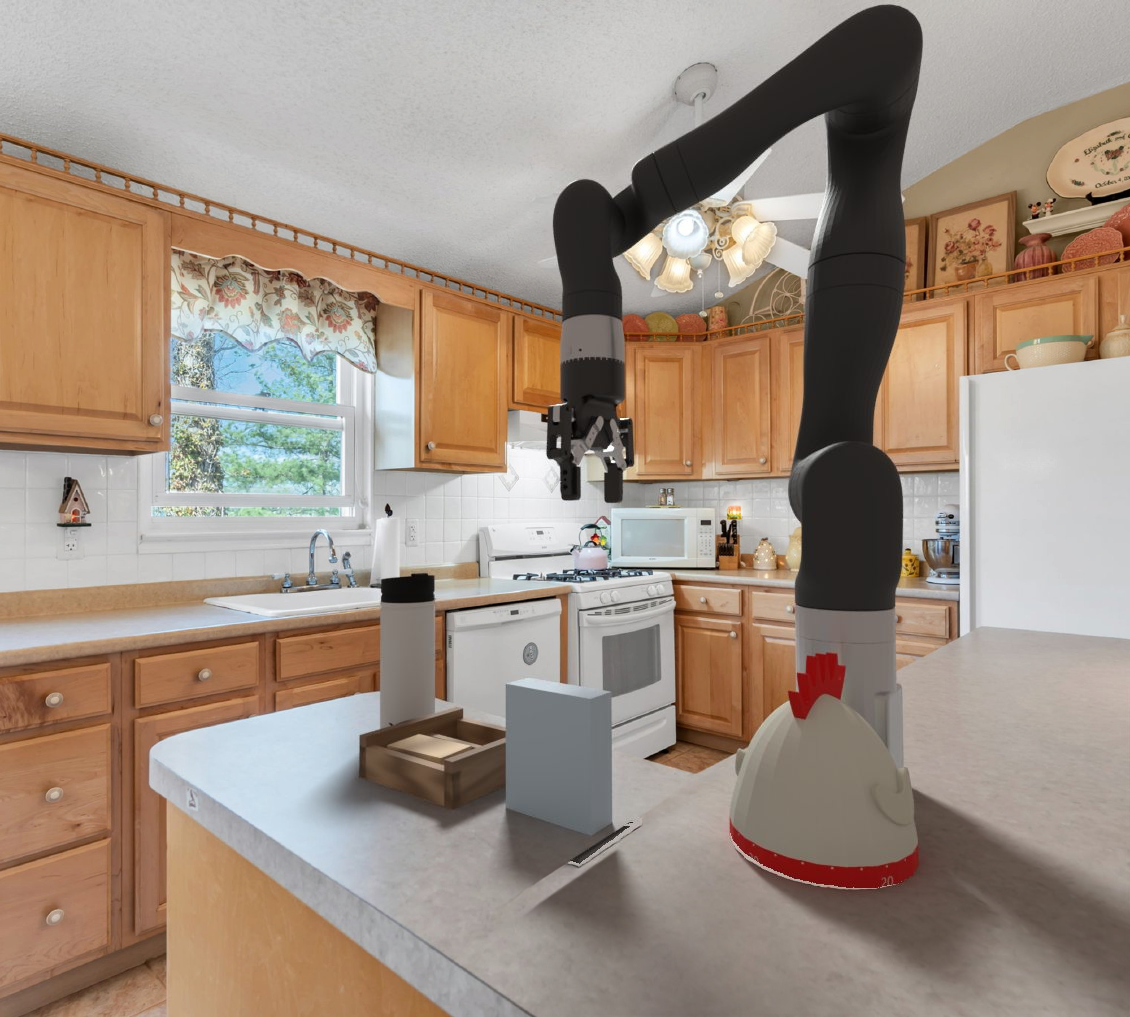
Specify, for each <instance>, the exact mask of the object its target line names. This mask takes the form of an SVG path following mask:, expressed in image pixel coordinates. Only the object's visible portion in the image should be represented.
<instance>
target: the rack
mask: <svg viewBox="0 0 1130 1017" xmlns="http://www.w3.org/2000/svg"><path fill="white" fill-rule="evenodd" d="M418 734H421V735H425V736H429V737H434V738H438V739H443V740H447V741H452V742H456V743H461V744H465V745H470V746H471V750H470V751H467V752H464V753H461V754H459V755H456V756H453V757H450V758H448V759H445V760H444V765H441V764H437V763H434V762H431V761H427V760H424V759H421V758H417V757H414V756H410V755H407V754H404V753H400V752H397V751H394V750H390V749H387V745H389V744H392V743H395V742H398V741H401V740H404V739H406V738H409V737H412V736H415V735H418ZM358 738H359V739H358V740H359V743H358V744H359V747H358V748H359V753H358V755H359V760H358V761H359V762H358V763H359V764H358V765H359V767H358V768H359V769H358V770H359V773H358V777H359V778H361V779H364V780H367V781H369V782H372V783H375V784H378V785H380V786H381V785H382V786H384V787H387V788H390V789H392V790H395V791H398V792H401V793H403V794H406V795H410V796H413V797H415V798H418V799H421V800H424V801H426V802H429V803H432V804H435V805H437V806H440V807H443V808H446V809H449V810H455V809H457V808H459V807H462V806H463V805H466V804H468V803H470V802H472V801H475V800H477V799H480V798H482V797H484V796H486V795H488V794H490V793H493V792H495V791H497V790H500V789H502V788H504V787H506V726H501V725H497V724H493V723H490V722H489V723H488V722H486V721H485V722H484V721H481V720H475V719H471V718H468V717H464V708H462V707H458V706H457V707H453V708H449V709H446V710H445V709H444V710H442V711H439V712H435V714H431V715H428V716H424V717H421V718H417V719H414V720H410V721H407V722H403V723H400V724H396V725H393V726H389V727H386V728H382V729H380V728H379V729H376V730H372V731H368V732H365V733H361V734H359V737H358Z"/></svg>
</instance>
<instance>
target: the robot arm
mask: <svg viewBox="0 0 1130 1017" xmlns="http://www.w3.org/2000/svg"><path fill="white" fill-rule="evenodd" d="M923 37H924V35H923V29H922V25H921V22H919V19H918V18H917V17H916V15H914V13H913V12H912V11H911V10H909V9H908V8H905V7H903V6H902V5H895V4H879V5H878V4H877V5H875V6H874V5H873V6H870V7H867V8H865V9H862V10H861V11H859V12H857V13H854V14H853V15H851V16H849V17H848V18H846V19H845V20H843V21H842V22H840V23H839V24H838V25H836V26H835V27H834V28H832V29H831V30H829V31H828V32H826V34H824V35H823V36H821V37H820V38H819V39H818V40H816V41H815V42H813V44H811V45H810V46H808V48H806V49H805V50H804V51H802V52H801V53H800V54H799V55H797V56H795V58H793V59H792V60H790V61H789V62H788V63H786V64H785V65H784V66H782V67H781V68H780V69H779V70H777V71H776V72H774V73H773V74H772V75H770V76H769V77H768V78H767V79H765V80H763V82H761V83H760V84H758V85H757V86H756V87H755V88H753V89H752V90H751V91H748V93H746V94H745V95H744V96H742V97H741V98H740V99H738V100H737V101H735V102H734V103H733V104H732V105H730V106H728V107H727V108H726V109H724V110H723V111H721V112H720V113H717V114H716V115H715V116H713V117H712V118H710V119H708V120H707V121H705V122H704V123H702V124H700V125H698V126H697V127H694V128H693V129H691V130H690V131H688V132H686V133H685V134H682V135H681V136H679V137H677V138H675V139H674V140H672V141H670V142H668V143H666V144H665V145H663V146H661V147H660V148H658V149H655V150H653V152H650V153H648V154H646V155H645V156H643V157H642V158H641V159H639V160H637V161H636V162H635V163H634V165H633V166H632V168H631V172H630V178H631V179H630V181H631V182H630V183H629V184H628V185H627V186H626V187H624V188H623V189H622V190H621V191H619V192H618V193H617V194H615V195H614V196H612V195H611V193H610V192H609V190H607V188H606V187H604V186H603V185H602V184H601V183H599V182H598V181H595V180H594V179H590V178H579V179H576V180H574V181H572V182H570V183H569V184H567V185H566V186H565V187H564V188H563V189H562V191H561V192H560V193H559V195H558V197H557V199H556V202H555V204H554V207H553V208H554V209H553V213H552V214H553V215H552V233H553V241H554V242H553V243H554V248H555V252H556V259H557V265H558V270H559V275H560V279H561V285H562V293H561V294H562V295H561V296H562V298H561V312H562V313H561V314H562V315H561V316H562V318H561V319H562V320H561V321H562V322H561V323H562V324H561V336H560V341H559V342H560V344H559V346H560V348H559V355H560V356H559V358H560V359H559V370H560V372H559V375H560V376H559V378H560V383H559V385H560V387H559V388H560V389H559V390H560V391H559V392H560V393H559V395H560V401H561V402H562V403H560V404H553V405H548V408H547V424H546V425H547V426H546V453H545V454H546V455H545V456H546V457H547V459H548V460H553V461H555V462H556V464H557V466H558V467H559V481H560V482H559V492H560V496H561V499H562V501H570V502H571V501H573V502H575V501H579V500H581V498H582V486H581V485H582V484H581V483H582V482H581V481H582V475H581V474H582V469H581V466H579V465H580V464H581V461H582V460H583V457H584V455H585V454H586V452H588V451H593V452H594V455H595V457H596V458H599V459H600V461H601V463H602V466H603V467H604V471H605V472H603V489H604V490H603V494H604V495H603V496H604V497H603V498H604V502H605V503H606V504H617V503H618V504H620V503H622V501H623V500H624V498H623V497H624V496H623V495H624V471H626V470H627V468H629V467H630V468H632V467H634V465H635V444H634V421H633V419H632V418H631V417H628V418H625V417H624V418H619V417H618V413H617V407H618V406H619V405H620V404H622V403H624V401H625V399H626V353H625V352H626V351H625V350H626V348H625V347H626V345H625V343H626V342H625V335H624V334H625V333H624V328H623V326H624V325H623V290H622V282H621V279H620V277H619V275H618V272H617V270H616V267H615V265H614V261H613V260H614V258H617V257H618V256H620V255H622V254H624V253H626V252H627V251H628V250H630V249H631V248H633V247H635V245H637V243H639V242H640V241H642V240H643V239H644V238H645V237H647V236H648V235H649V234H650V233H652V232H653V231H654V230H655V229H656V228H657V227H658V226H660V224H662V223H663V222H664V221H665V220H667V219H670V218H671V217H674V216H676V215H678V214H679V213H680V214H681V213H682V212H684V211H685V210H688V209H689V208H692V207H693V206H696V205H697V204H699V203H700V202H703V201H705V200H707V199H709V198H710V197H712V196H713V195H715V194H717V193H719V192H720V191H721V190H724V188H726V187H727V186H728V185H729V184H731V183H733V182H734V180H736V179H738V177H740V175H741V174H743V173H744V171H746V170H747V169H748V168H749V167H750V166H751V165H752V164H754V162H755V161H757V160H758V159H759V158H760V157H761V155H763V154H765V152H767V151H768V150H769V148H771V147H772V146H773V145H775V144H776V143H777V142H779V141H780V140H781V139H782V138H784V137H785V136H787V135H788V134H789V133H791V132H792V131H793V130H796V129H797V128H799V127H800V126H802V125H803V124H806V123H807V122H810V120H811V121H812V120H813V119H815V118H817V117H819V116H821V115H823V119H824V126H825V129H824V131H825V142H826V143H825V144H826V145H825V146H826V177H825V178H826V182H825V183H826V184H825V188H824V189H825V190H824V191H825V192H824V196H823V201H822V203H821V207H820V212H819V215H818V218H817V221H816V226H815V230H814V233H813V238H812V242H811V247H810V253H809V258H808V266H807V275H806V290H805V302H804V326H803V327H804V329H803V356H802V358H803V359H802V360H803V362H802V364H803V366H802V371H803V373H802V374H803V375H802V377H803V381H802V382H803V383H802V384H803V387H802V388H803V390H802V391H803V395H802V408H801V415H800V419H799V420H800V421H799V427H798V431H797V432H798V433H797V439H796V443H795V444H796V445H795V450H794V455H793V461H792V464H791V470H790V474H789V478H788V484H787V485H788V487H787V495H788V501H789V506H790V507H791V511H792V513H793V515H794V516H795V518H796V519H797V520H798V521H799V524H801V526H800V527H801V532H800V533H801V536H800V537H801V539H800V541H801V543H800V544H801V545H800V546H801V547H800V550H801V551H800V554H801V555H800V561H799V562H800V563H799V569H798V571H797V575H796V576H795V579H794V580H795V581H794V628H795V629H794V632H795V639H794V640H795V641H794V642H795V643H794V644H795V692H799V689H798V682H797V672H799V673H805V672H806V657H807V655H809V656H815V653H820V654H826V652H829V653H837V654H838V665H844V666H846V670H845V678H844V684H843V689H842V695H841V701H842V702H844V703H846V704H847V705H848V706H850V707H851V708H852V709H854V710H855V711H856V712H857V713H858V714H859V715H861V716H862V717H863V718H864V719H865V720H866V721H867V722H868V723H869V725H870V726H871V727H872V728H873V729H874V730H875V732H876V733H877V734H878V736H879V737H880V738H881V740H882V741H883V743H884V744H885V746H886V748H887V749H888V751H889V753H890V754H891V756H892V758H893V760H894V762H895V764H896V767H897V768H902V767H905V766H904V764H905V761H904V760H905V758H904V757H905V756H904V715H903V714H904V709H903V708H904V707H903V704H904V703H903V702H904V701H903V698H904V697H903V685H902V684H901V683H899V682H898V681H897V679H898V678H897V676H898V675H897V641H896V638H897V635H896V631H897V630H896V627H897V626H896V591H897V588H898V585H899V582H900V579H901V576H902V571H903V556H904V554H903V550H904V549H903V547H904V546H903V545H904V496H903V495H904V493H903V486H902V480H901V477H900V473H899V471H898V468H897V466H896V464H895V463H894V462H893V460H892V459H891V458H890V456H889V455H888V454H887V453H886V452H885V451H883V450H882V449H880V448H879V447H877V446H875V445H874V427H875V426H874V421H875V410H876V402H877V399H878V394H879V390H880V387H881V384H882V380H883V377H884V374H885V371H886V368H887V365H888V363H889V360H890V356H891V354H892V350H893V348H894V344H895V341H896V338H897V334H898V330H899V326H900V321H901V318H902V317H901V316H902V309H903V302H904V296H905V295H904V293H905V280H906V267H907V266H906V265H907V264H906V263H907V236H906V222H905V214H904V205H903V198H902V187H901V186H902V185H901V182H902V169H903V161H904V160H903V159H904V155H905V149H906V143H907V138H908V134H909V133H908V132H909V127H910V122H911V118H912V113H913V108H914V105H915V101H916V98H917V93H918V87H919V82H920V74H921V65H922V59H923V47H924V40H923V39H924V38H923ZM558 438H560V447H558V446H557V445H558ZM624 448H625V449H624ZM623 450H625V457H624V453H623ZM611 458H612V460H611ZM897 682H898V683H897Z"/></svg>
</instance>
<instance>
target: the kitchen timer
mask: <svg viewBox="0 0 1130 1017" xmlns="http://www.w3.org/2000/svg"><path fill="white" fill-rule="evenodd" d="M845 670H846V666H844V665H838V654H837V653H829V652H826V654H820V653H815V656H809V655H807V657H806V672H805V673H799V672H797V682H798V689H799V692H796V691H794V690H793V691H792V690H787V694H788V695H787V696H788V700H787V701H786V702H784V703H783V704H781V705H780V706H778V707H777V708H776V709H775V710H773V711H772V712H771V713H770V714H769V715H768V716H767V717H766V719H765V720H764V721H763V722H762V724H761V725H760V726H759V728H758V729H757V730H756V732H755V733H754V735H753V736H752V739H751V740H750V742H749V745H748V747H747V749H746V750H744V749H742V748H738V749H737V750H736V755H735V774H736V776H737V778H736V780H735V785H734V788H733V791H732V796H731V801H730V805H729V806H730V807H729V819H728V820H729V821H728V822H729V834H730V833H731V836H732V839H733V841H734V842H735V843H736V844H737V846H739V848H740V849H741V850H742V851H743V852H744V853H745V854H747V855H748V856H750V857H751V858H753V859H754V860H756V861H757V862H759V863H760V864H763V866H766V867H768V868H771V869H773V870H774V871H777V872H780V873H783V874H784V875H787V876H789V877H792V878H794V879H800V880H803V881H809V882H811V883H812V882H813V883H816V884H824V885H834V886H838V887H846V888H853V887H854V888H878V887H879V888H880V887H882V886H887V885H893V884H898V883H900V882H901V881H904V880H905V879H907V878H909V877H911V876H912V877H914V875H915V873H916V871H917V869H918V868H919V867H920V863H919V862H920V861H919V860H920V859H919V856H920V855H919V839H918V831H917V828H916V827H917V826H916V821H915V819H914V817H915V801H914V799H915V798H914V793H913V789H912V788H913V787H912V781H911V776H910V772H909V771H910V770H909V768H908V767H906V766H904V767H902V768H897V767H896V764H895V762H894V760H893V758H892V756H891V754H890V753H889V751H888V749H887V748H886V746H885V744H884V743H883V741H882V740H881V738H880V737H879V736H878V734H877V733H876V732H875V730H874V729H873V728H872V727H871V726H870V725H869V723H868V722H867V721H866V720H865V719H864V718H863V717H862V716H861V715H859V714H858V713H857V712H856V711H855V710H854V709H852V708H851V707H850V706H848V705H847V704H846V703H844V702H842V701H841V695H842V689H843V684H844V678H845ZM917 867H918V868H917ZM914 872H915V873H914ZM912 877H911V878H912ZM909 879H910V878H909ZM907 880H908V879H907ZM905 881H906V880H905ZM905 881H904V882H905ZM900 884H901V883H900Z"/></svg>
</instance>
